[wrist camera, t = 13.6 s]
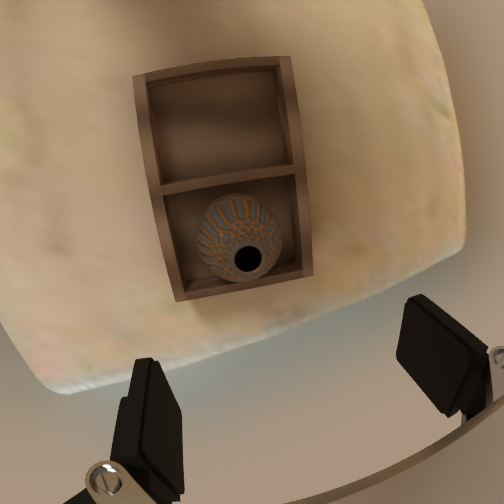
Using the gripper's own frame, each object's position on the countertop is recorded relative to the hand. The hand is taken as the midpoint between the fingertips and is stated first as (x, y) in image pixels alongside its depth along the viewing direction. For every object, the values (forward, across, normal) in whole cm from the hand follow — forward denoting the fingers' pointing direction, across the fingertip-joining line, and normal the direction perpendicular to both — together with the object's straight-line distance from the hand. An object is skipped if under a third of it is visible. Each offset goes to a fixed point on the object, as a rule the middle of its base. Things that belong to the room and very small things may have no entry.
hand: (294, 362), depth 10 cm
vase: (+19, 0, 0) cm, 19 cm away
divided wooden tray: (+20, 0, -5) cm, 21 cm away
